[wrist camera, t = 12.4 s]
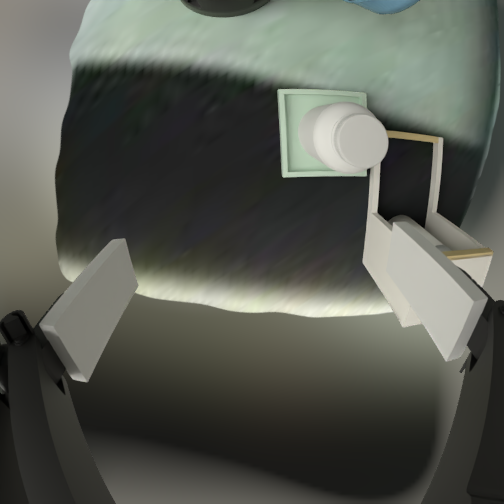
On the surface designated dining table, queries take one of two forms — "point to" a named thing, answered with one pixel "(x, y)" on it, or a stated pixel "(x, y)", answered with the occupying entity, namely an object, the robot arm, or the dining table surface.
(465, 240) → the dispenser
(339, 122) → the pill bottle
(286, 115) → the tray
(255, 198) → the dining table surface
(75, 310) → the robot arm
